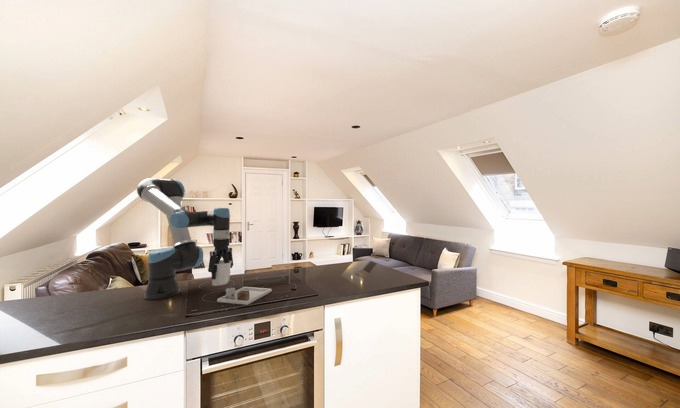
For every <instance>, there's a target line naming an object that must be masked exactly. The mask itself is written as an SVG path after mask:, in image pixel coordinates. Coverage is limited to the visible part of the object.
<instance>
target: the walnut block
mask: <svg viewBox="0 0 680 408" xmlns="http://www.w3.org/2000/svg"><path fill="white" fill-rule="evenodd" d="M237 300H243V301H248V300H249V291H240V292H239V293H237Z"/></svg>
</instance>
